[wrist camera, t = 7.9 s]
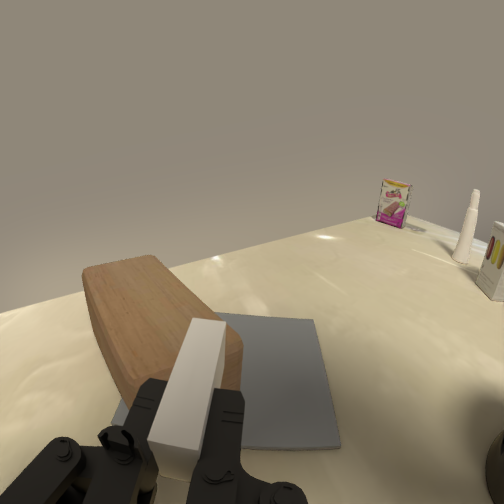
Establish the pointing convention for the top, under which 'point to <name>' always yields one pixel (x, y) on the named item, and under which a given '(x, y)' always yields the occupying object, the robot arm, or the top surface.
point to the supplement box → (493, 265)
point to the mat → (280, 385)
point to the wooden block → (147, 322)
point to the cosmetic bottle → (467, 231)
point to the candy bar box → (394, 203)
